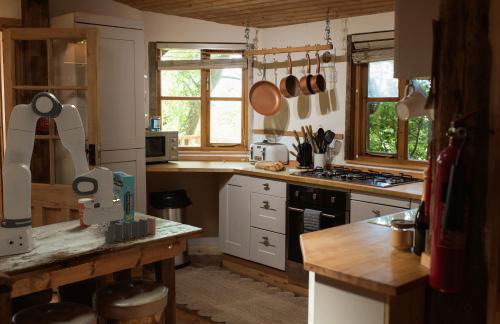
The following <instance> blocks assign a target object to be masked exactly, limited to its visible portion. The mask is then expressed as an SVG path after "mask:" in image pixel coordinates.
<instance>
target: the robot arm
mask: <svg viewBox="0 0 500 324" xmlns="http://www.w3.org/2000/svg"><path fill="white" fill-rule="evenodd" d="M40 118H46V119H47V118H48V119H49V118H50V119H53V120H54V122H55V124H56V127H57V131H58V136H59V140H60V142H61V144H62V146H63V147H64V148H65V149H66V150H67V151H68V152H69V154H70V156H71V158H72V162H73V167H74V170H75V171H74V172H75V176H74V178H73V181H72V183H71V188H72V191H73V193H74V194H75V195H77V196H79V197H85V196H86V197H87V196H90V195H93V198H90V199H91V200H89V201H87V202H85V203H84V207H86V208H85V209H84V211H83V223H84V224H86V225H91V226H92V225H98V227H99V228H100V232H101V233H105V231H108V227H109V225H111V222H114V220H120V219H123V217H124V211H123V202H122V201H121V200H114V195H113V174H112V172H113V171H112V170H111V169H110V168H108V167H105V166H96V167H94V168H93V169H90V166H89V162H88V159H87V155H86V135H85V128H84V125H83V120H82V117H81V115H80V112H79V110H78V108H77V107H76V106H75V105H74V104H70V103H69V104H68V103H66V104H62V103H61V102H60V101H59V100H58V98H57V97H56V96H55V95H54V93H51V92H48V91H42V92H39V93H37V94H35V95H34V96H33V98H32V99H31V102H30V103H29V104H24V103H23V104H17V105H15V106H14V107H13V108H12V111H11V113H10V118H9V120H8V128H7V135H6V143H5V150H4V157H3V162H2V168H1V169H2V171H1V174H2V183H3V184H2V185H3V186H2V187H3V189H2V190H3V202H2V203H3V218H2V219H0V257H4V256H10V255H18V254H23V253H24V254H25V253H30V252H32V250H34V249H36V247H37V245H36V243H35V239H34V234H33V216H32V209H31V208H32V206H31V202H32V201H31V194H32V193H31V192H32V172H31V170H30V167H31V160H32V155H33V152H34V151H33V150H34V143H35V137H36V136H35V135H36V129H37V128H36V127H37V122H38V120H39V119H40ZM120 201H121V202H120ZM104 223H105V225H104ZM103 225H104V226H103Z"/></svg>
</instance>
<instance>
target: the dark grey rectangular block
mask: <svg viewBox="0 0 500 324" xmlns="http://www.w3.org/2000/svg"><path fill="white" fill-rule="evenodd" d="M104 233H105V236H104V237H105V243H106V244H107V243H108V244H115V240H114V225H111V224H110V225H109V227H108V231H105V232H104Z"/></svg>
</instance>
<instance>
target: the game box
mask: <svg viewBox="0 0 500 324" xmlns="http://www.w3.org/2000/svg"><path fill="white" fill-rule="evenodd" d="M112 174H113V195H114V200H121V201H122V202H123V211H124V217H123V219H120V220H114V221H113V222H114V223H119V224H122V225H123V222H130V223H131V220H135V175H132V174H130V173H126V172H124V171H112ZM121 201H120V202H121Z"/></svg>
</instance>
